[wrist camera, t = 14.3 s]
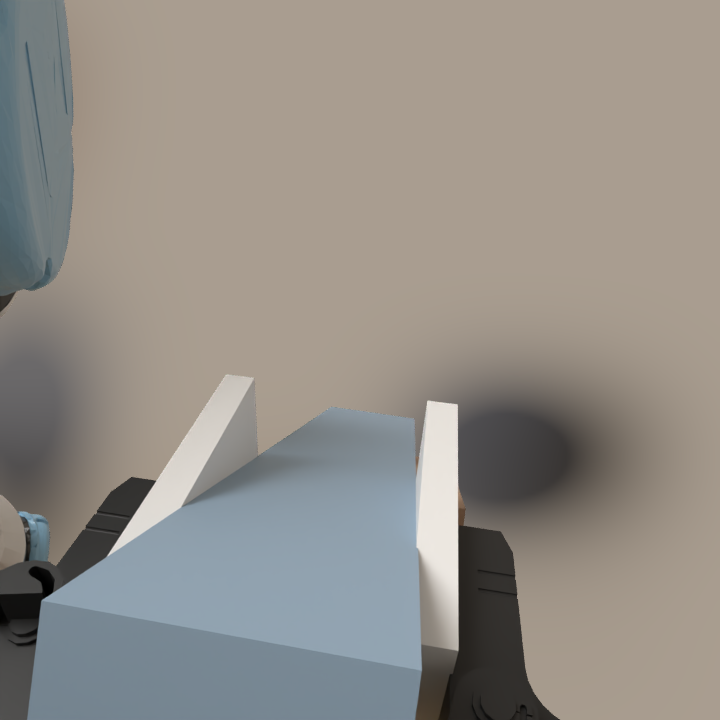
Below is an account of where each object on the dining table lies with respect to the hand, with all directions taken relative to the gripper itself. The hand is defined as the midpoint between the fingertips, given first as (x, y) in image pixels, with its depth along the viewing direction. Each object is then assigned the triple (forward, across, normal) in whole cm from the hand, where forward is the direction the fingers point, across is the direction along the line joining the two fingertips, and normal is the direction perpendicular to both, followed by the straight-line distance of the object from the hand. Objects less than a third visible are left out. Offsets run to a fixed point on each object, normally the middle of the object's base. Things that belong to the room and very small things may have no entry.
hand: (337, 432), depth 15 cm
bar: (+1, 0, -5) cm, 5 cm away
